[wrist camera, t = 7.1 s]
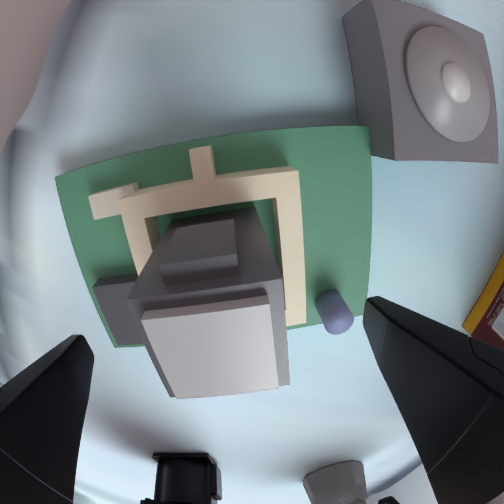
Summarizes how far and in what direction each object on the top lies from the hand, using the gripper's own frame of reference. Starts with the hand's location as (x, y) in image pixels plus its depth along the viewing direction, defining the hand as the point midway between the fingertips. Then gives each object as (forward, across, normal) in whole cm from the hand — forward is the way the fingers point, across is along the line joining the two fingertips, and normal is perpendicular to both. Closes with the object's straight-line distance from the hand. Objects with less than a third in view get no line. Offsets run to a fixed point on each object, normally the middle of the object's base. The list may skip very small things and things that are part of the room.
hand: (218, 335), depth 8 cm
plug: (+6, 0, 0) cm, 7 cm away
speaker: (+8, -12, -8) cm, 16 cm away
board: (+8, 0, 0) cm, 8 cm away
